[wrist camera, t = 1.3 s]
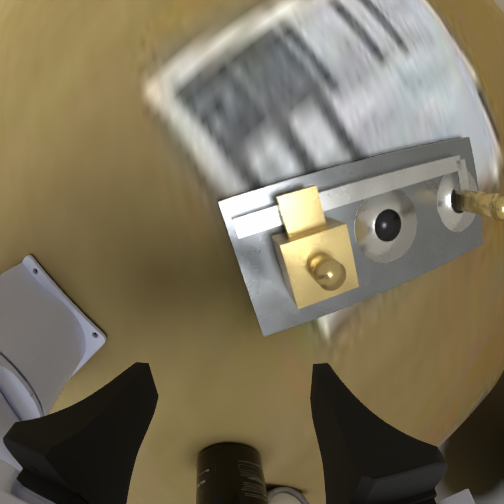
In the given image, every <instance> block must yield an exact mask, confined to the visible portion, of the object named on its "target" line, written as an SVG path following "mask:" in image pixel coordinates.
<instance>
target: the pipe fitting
mask: <svg viewBox="0 0 504 504" xmlns="http://www.w3.org/2000/svg"><path fill="white" fill-rule="evenodd" d="M267 496H268V502H269V504H309V503H308V501H307V500H306V498H305V497H304V496H303V495H302V494H301V493H299V492H298V491H296V490H295V489H292V488H289V487H277V488H274V489H272V490H270V491H268V492H267Z"/></svg>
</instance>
